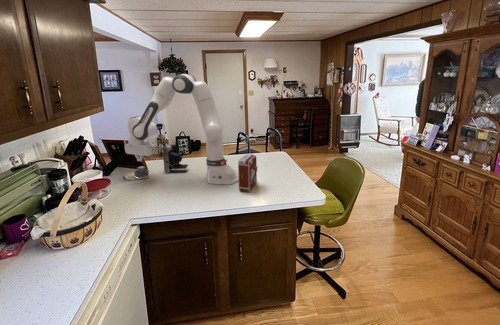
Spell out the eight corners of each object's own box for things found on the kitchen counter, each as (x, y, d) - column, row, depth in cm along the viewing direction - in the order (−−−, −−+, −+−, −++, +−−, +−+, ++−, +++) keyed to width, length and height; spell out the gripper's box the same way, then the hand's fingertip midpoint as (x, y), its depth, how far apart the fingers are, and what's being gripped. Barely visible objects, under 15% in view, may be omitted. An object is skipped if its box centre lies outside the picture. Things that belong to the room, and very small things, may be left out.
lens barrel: (152, 175, 199) (151, 169, 198) (142, 180, 191) (141, 173, 190) (141, 174, 203) (140, 168, 201) (132, 178, 195) (131, 172, 193)
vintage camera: (185, 174, 203) (184, 146, 198) (164, 173, 203) (162, 146, 198) (188, 170, 213) (187, 143, 207) (168, 169, 213) (166, 143, 207)
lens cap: (147, 173, 198) (146, 166, 196) (142, 176, 193) (141, 168, 192) (141, 172, 200) (140, 165, 198) (136, 175, 195) (135, 168, 194)
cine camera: (261, 182, 185) (261, 152, 179) (251, 193, 167) (250, 160, 161) (247, 180, 187) (247, 151, 182) (236, 191, 170) (235, 159, 164)
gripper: (152, 141, 188) (155, 161, 192) (129, 139, 196) (131, 158, 200) (146, 143, 183) (148, 163, 187) (122, 140, 190) (124, 160, 194)
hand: (139, 161), depth 194 cm, fingers closed
